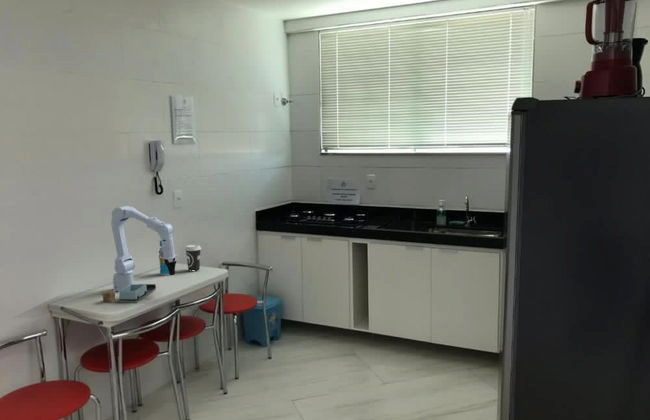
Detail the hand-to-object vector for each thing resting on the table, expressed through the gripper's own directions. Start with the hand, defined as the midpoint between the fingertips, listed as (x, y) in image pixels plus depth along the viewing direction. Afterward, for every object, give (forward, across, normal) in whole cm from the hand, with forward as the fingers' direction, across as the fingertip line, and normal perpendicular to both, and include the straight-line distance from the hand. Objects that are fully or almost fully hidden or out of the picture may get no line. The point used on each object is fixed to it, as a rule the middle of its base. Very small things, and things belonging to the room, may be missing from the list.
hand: (171, 273), depth 263 cm
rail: (+8, +1, +18) cm, 20 cm away
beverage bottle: (+8, +42, +1) cm, 42 cm away
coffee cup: (+9, +44, -15) cm, 47 cm away
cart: (+7, -3, +20) cm, 21 cm away
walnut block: (+8, -3, +31) cm, 32 cm away
